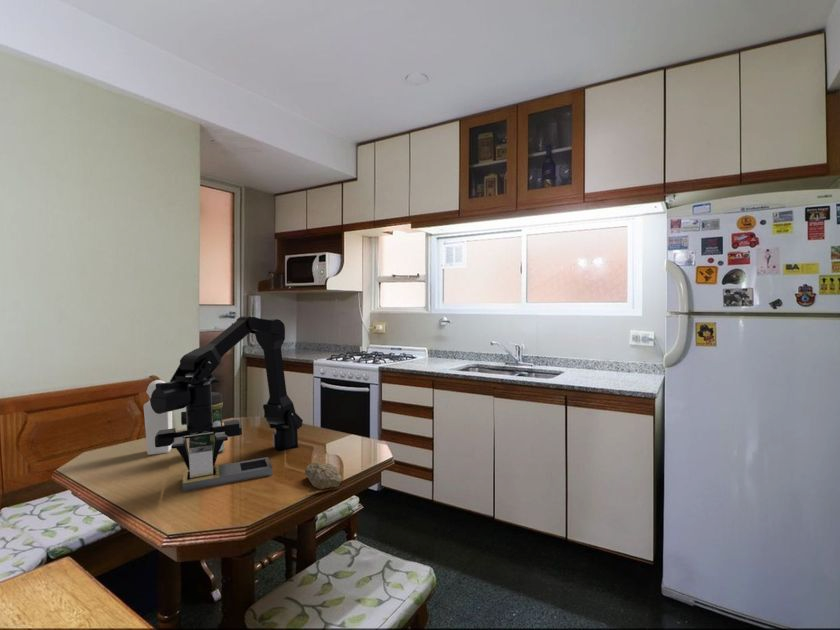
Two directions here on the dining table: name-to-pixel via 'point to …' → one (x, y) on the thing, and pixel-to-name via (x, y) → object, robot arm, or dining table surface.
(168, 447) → the white bottle
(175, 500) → the dining table surface
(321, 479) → the rock
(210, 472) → the square slider block
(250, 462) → the grey socket board
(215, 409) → the coffee jar
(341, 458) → the dining table surface
